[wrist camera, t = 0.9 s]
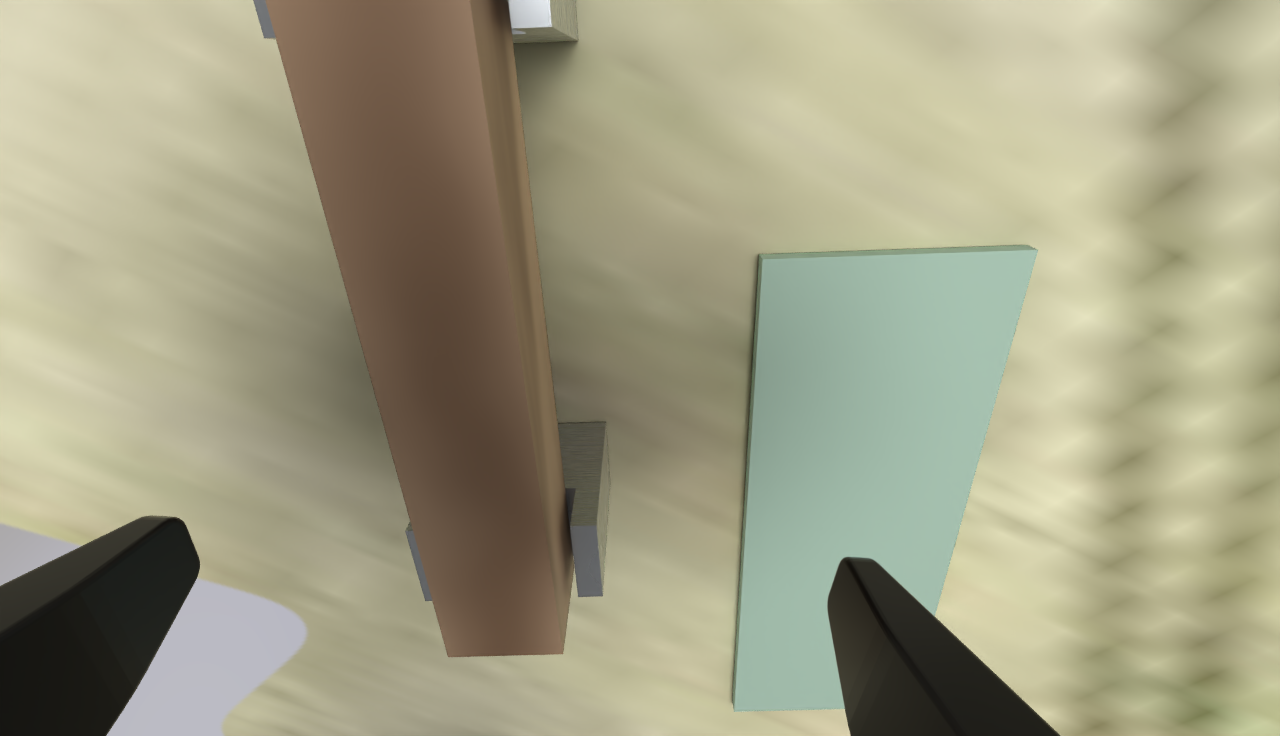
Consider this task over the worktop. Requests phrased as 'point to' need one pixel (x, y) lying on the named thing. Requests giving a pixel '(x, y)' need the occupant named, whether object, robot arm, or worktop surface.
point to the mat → (861, 439)
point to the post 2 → (574, 504)
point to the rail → (444, 294)
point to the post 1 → (535, 16)
